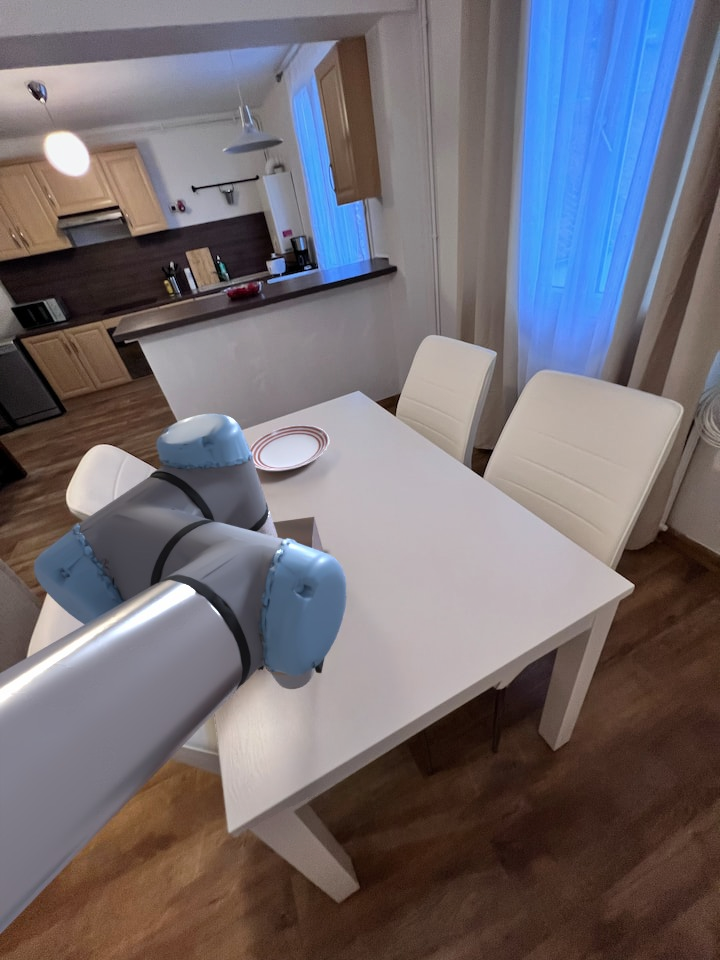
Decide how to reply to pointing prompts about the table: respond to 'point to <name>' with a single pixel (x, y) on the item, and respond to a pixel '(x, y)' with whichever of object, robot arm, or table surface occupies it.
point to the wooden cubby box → (300, 532)
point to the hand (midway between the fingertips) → (291, 662)
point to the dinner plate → (289, 447)
